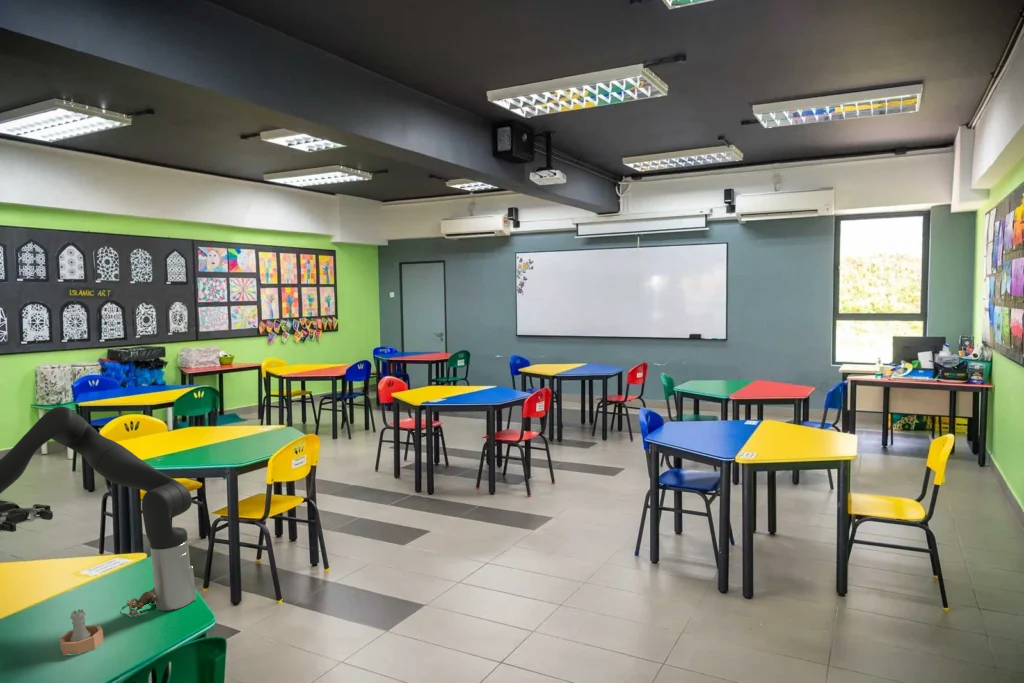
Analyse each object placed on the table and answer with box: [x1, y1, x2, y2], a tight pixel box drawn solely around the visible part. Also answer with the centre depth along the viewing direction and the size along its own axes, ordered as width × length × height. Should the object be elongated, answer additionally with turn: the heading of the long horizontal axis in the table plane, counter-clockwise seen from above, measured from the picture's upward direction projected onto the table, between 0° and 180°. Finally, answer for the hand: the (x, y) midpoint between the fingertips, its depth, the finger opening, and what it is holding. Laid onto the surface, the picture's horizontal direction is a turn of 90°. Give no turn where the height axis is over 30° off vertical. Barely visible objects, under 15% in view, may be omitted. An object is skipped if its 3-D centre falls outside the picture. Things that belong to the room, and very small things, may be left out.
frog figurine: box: [119, 587, 156, 617], centre depth 185 cm, size 12×12×4 cm
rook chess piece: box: [69, 609, 91, 642], centre depth 164 cm, size 4×4×8 cm
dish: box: [58, 624, 105, 656], centre depth 165 cm, size 8×8×3 cm
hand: (33, 521), depth 168 cm, fingers open, 8 cm apart
